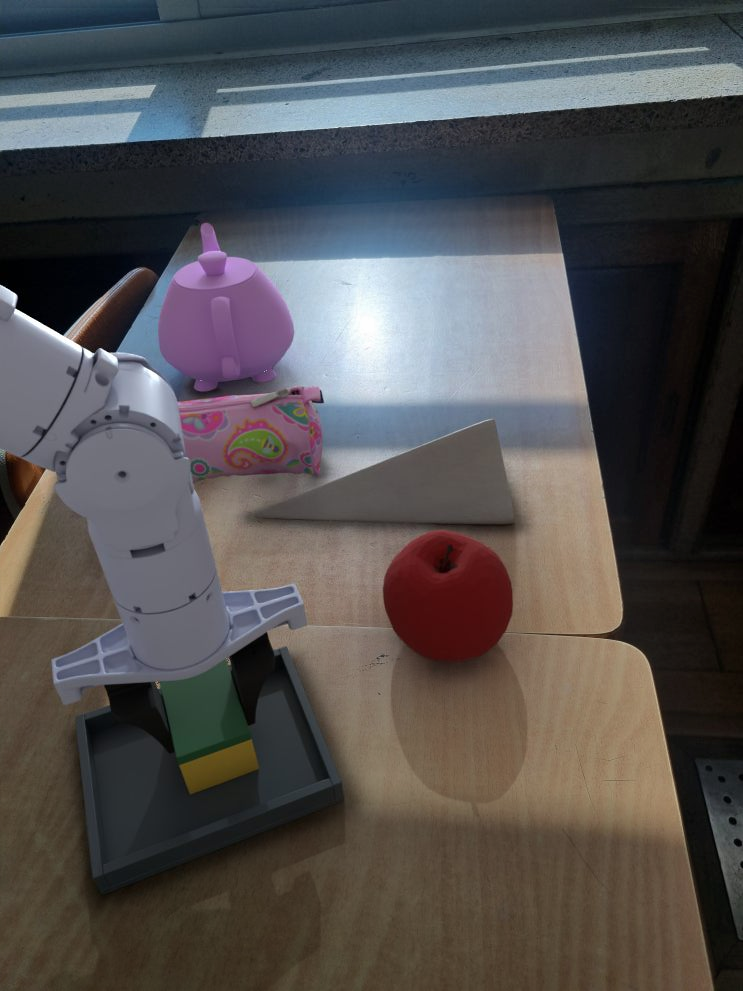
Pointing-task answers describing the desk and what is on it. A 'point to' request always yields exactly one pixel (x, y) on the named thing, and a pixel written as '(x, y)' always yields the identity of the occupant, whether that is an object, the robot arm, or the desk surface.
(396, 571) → the apple
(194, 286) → the teapot
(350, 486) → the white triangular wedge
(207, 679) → the sponge
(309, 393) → the pencil case
